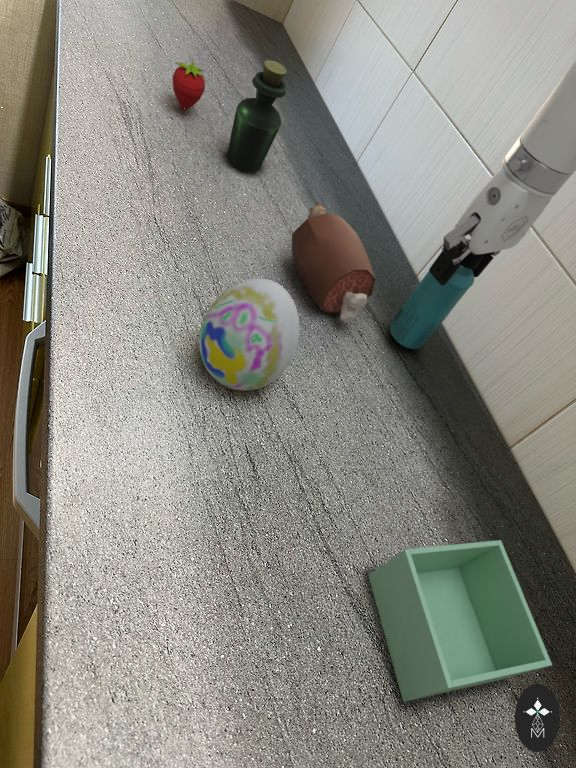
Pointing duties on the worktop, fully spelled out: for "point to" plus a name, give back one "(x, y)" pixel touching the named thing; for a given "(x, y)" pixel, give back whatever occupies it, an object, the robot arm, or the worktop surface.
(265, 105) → the potion bottle
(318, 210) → the meat
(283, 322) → the decorative egg
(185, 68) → the strawberry
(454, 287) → the beverage bottle
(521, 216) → the robot arm
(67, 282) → the worktop surface
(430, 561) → the bin
